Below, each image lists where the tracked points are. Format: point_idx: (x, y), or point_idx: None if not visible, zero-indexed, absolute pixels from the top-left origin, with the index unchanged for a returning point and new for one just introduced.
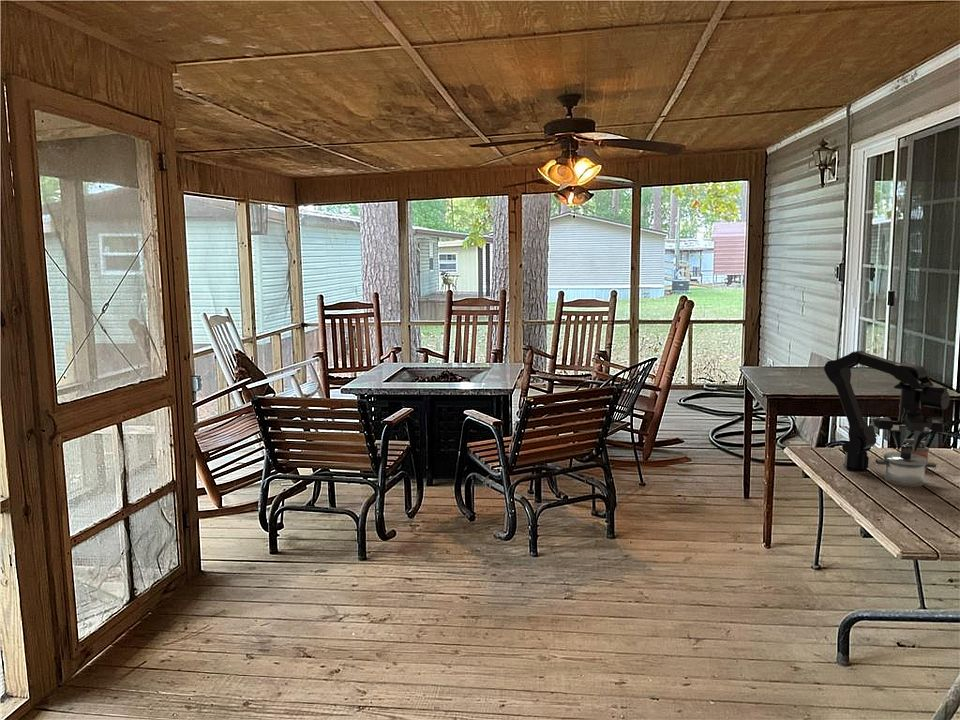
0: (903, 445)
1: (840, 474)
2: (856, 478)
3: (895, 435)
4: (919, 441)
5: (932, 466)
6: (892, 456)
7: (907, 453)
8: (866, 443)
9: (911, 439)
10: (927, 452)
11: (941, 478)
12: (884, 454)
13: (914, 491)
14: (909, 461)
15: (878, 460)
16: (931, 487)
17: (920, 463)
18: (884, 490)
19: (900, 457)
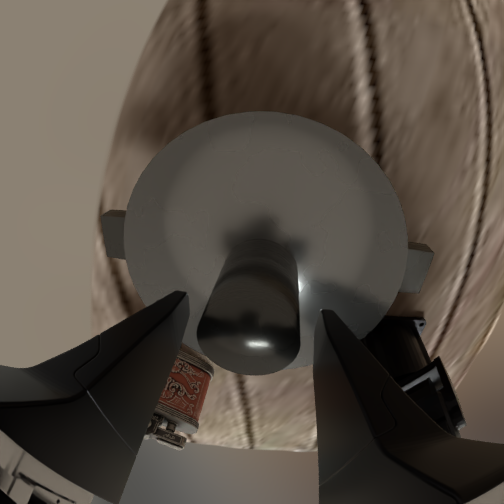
0: (277, 351)
1: (468, 274)
2: (449, 232)
3: (439, 431)
4: (103, 340)
5: (122, 212)
6: (348, 291)
7: (261, 260)
8: (436, 400)
9: (161, 442)
10: None
11: (117, 260)
12: (371, 328)
13: (284, 58)
14: (277, 160)
15: (419, 272)
16: (180, 132)
17: (201, 123)
18: (414, 73)
19: (301, 271)
